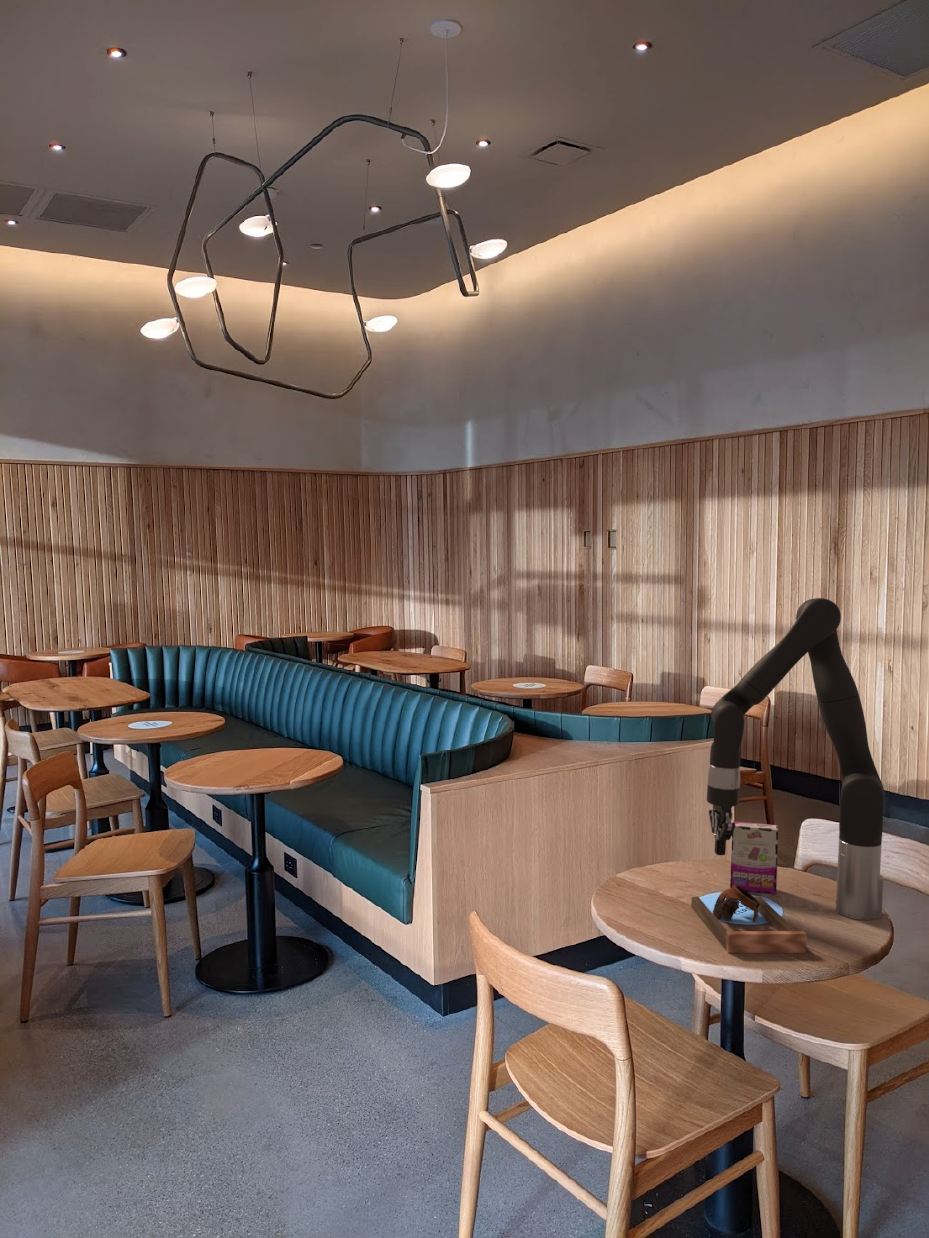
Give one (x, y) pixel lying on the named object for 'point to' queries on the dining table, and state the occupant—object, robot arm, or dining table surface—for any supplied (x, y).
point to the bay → (754, 932)
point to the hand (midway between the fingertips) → (719, 854)
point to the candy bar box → (754, 857)
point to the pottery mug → (734, 903)
